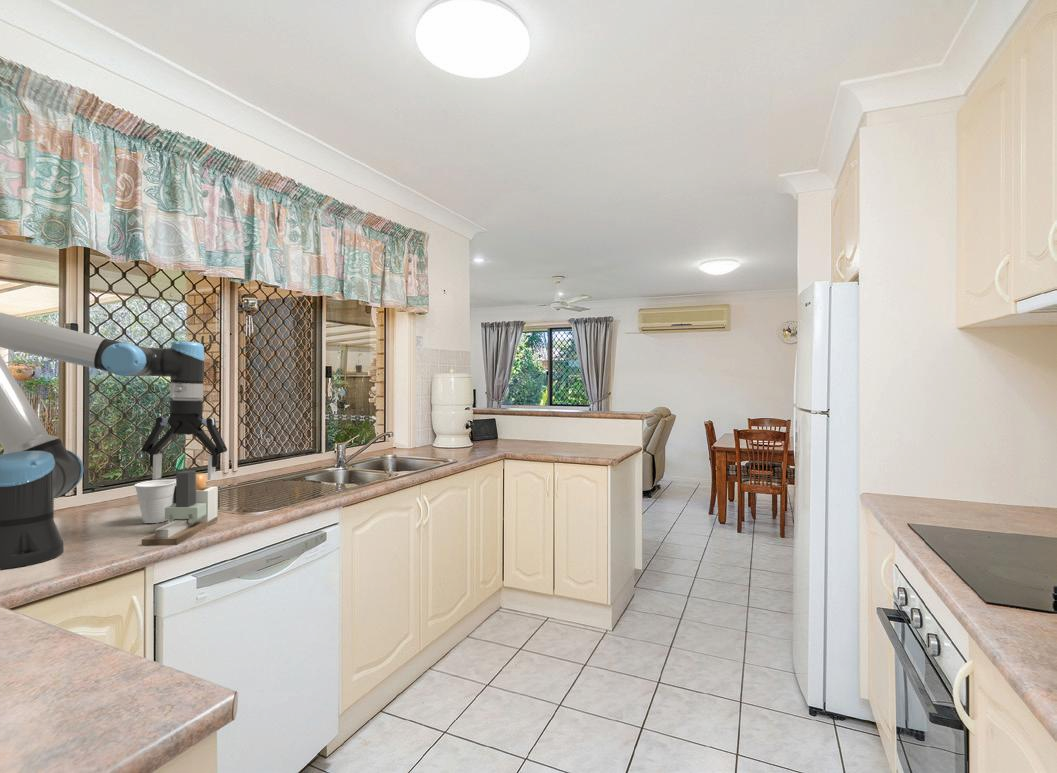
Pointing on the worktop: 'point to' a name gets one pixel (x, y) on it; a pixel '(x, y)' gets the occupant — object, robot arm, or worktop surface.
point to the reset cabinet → (208, 502)
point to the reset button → (200, 482)
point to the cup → (155, 499)
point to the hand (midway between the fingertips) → (184, 478)
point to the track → (179, 535)
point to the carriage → (186, 499)
